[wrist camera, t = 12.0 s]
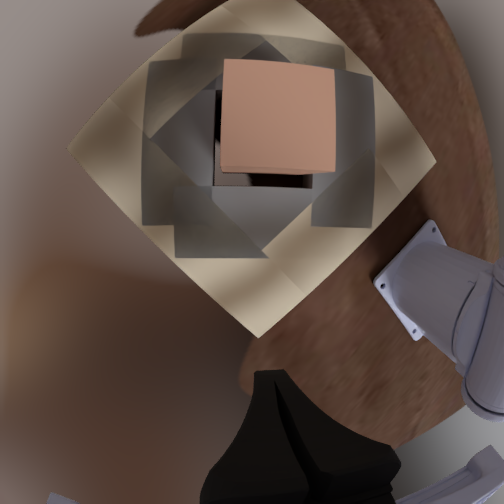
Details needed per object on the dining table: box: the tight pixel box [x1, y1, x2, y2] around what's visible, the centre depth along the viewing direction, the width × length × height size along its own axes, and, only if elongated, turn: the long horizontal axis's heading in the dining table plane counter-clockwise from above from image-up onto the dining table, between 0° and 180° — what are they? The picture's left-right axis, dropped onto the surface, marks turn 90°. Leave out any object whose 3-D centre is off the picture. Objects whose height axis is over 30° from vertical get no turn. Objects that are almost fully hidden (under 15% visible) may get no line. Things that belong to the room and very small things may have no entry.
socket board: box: [66, 0, 436, 338], centre depth 18 cm, size 19×19×2 cm
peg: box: [220, 59, 336, 175], centre depth 15 cm, size 5×5×8 cm
